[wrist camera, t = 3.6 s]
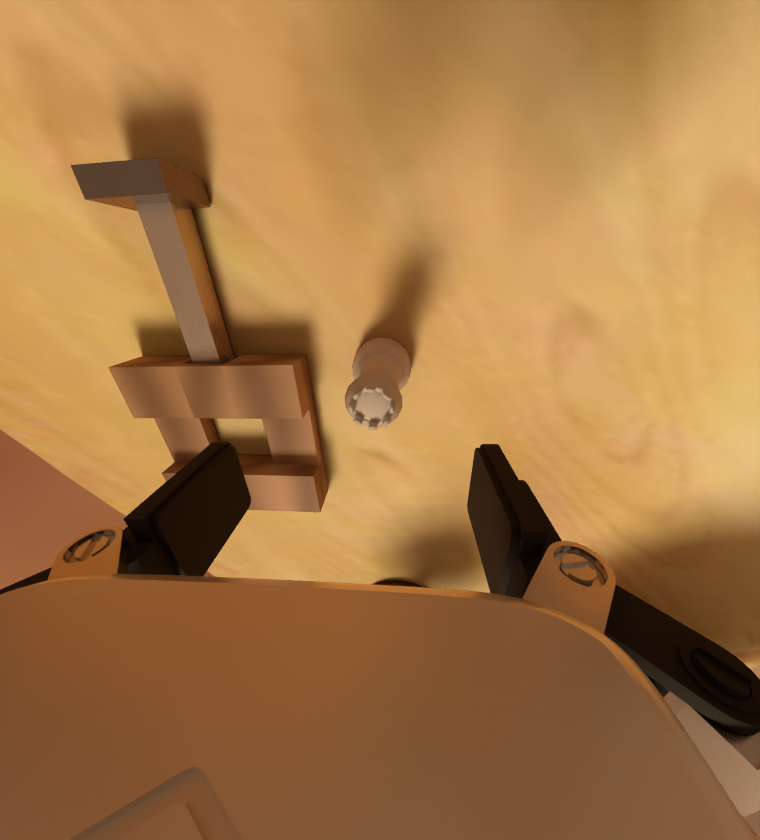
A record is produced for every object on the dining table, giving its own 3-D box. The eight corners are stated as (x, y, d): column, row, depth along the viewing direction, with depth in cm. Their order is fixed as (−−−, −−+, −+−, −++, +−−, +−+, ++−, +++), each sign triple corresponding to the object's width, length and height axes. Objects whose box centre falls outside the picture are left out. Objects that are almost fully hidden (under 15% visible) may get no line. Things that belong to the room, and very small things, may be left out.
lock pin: (203, 178, 17) (157, 157, 14) (250, 361, 22) (225, 376, 19) (130, 184, 18) (70, 165, 14) (194, 362, 23) (160, 377, 20)
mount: (305, 353, 22) (292, 364, 19) (328, 489, 29) (320, 512, 26) (142, 356, 23) (108, 367, 21) (199, 486, 30) (179, 507, 27)
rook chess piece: (342, 357, 22) (313, 398, 15) (389, 323, 20) (381, 351, 13) (375, 400, 23) (363, 456, 16) (421, 372, 22) (429, 420, 15)
